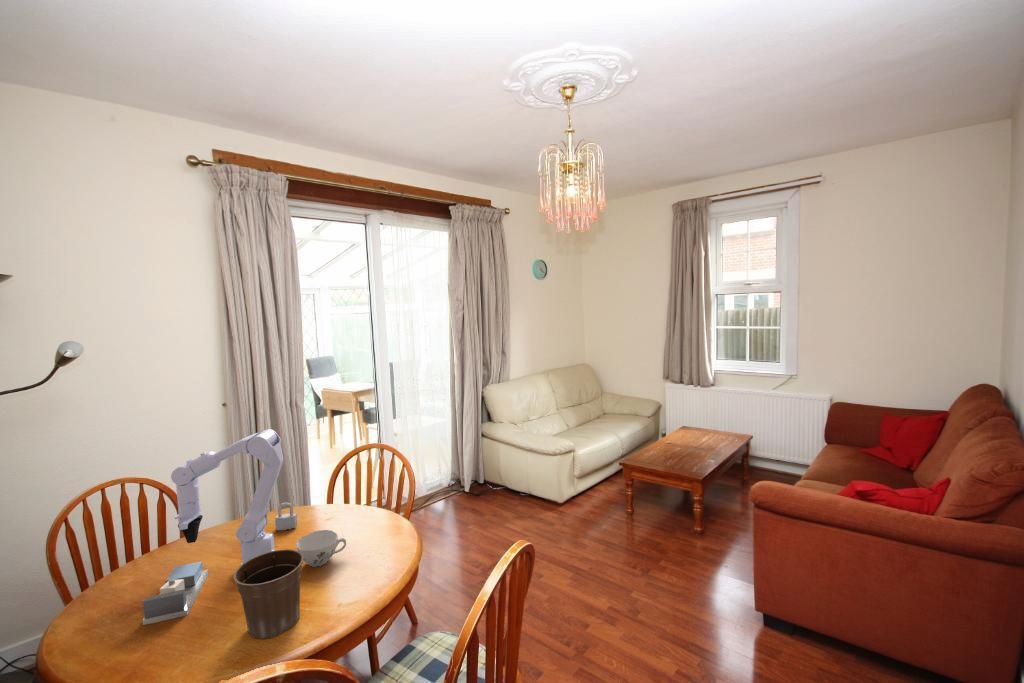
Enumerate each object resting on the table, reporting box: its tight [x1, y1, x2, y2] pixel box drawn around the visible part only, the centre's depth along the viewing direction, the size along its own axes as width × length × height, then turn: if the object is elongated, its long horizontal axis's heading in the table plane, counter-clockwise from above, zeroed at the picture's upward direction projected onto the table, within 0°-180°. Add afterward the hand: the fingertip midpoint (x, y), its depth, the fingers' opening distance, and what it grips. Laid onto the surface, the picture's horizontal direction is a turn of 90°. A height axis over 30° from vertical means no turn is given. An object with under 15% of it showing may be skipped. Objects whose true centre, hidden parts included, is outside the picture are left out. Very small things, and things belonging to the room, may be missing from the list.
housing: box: [159, 579, 185, 594], centre depth 129 cm, size 4×4×6 cm
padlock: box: [274, 502, 298, 531], centre depth 173 cm, size 7×4×10 cm, turn 99°
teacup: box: [295, 529, 347, 568], centre depth 149 cm, size 15×12×8 cm
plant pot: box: [233, 548, 304, 640], centre depth 120 cm, size 16×16×16 cm
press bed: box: [142, 568, 209, 626], centre depth 132 cm, size 10×21×6 cm, turn 20°
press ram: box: [164, 560, 204, 587], centre depth 138 cm, size 7×8×3 cm
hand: (192, 541), depth 146 cm, fingers closed
